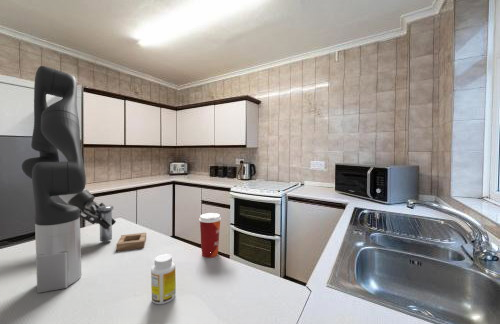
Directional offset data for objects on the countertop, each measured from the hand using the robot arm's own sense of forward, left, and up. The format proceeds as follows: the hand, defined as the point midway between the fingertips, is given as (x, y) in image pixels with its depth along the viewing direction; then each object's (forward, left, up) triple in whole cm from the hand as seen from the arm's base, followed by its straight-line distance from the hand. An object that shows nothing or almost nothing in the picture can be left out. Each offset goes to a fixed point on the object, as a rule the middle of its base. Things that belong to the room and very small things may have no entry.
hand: (111, 225), depth 86 cm
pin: (0, +2, -6) cm, 6 cm away
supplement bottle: (-43, -20, -7) cm, 48 cm away
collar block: (-6, -8, -7) cm, 12 cm away
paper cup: (-24, -35, -7) cm, 43 cm away
